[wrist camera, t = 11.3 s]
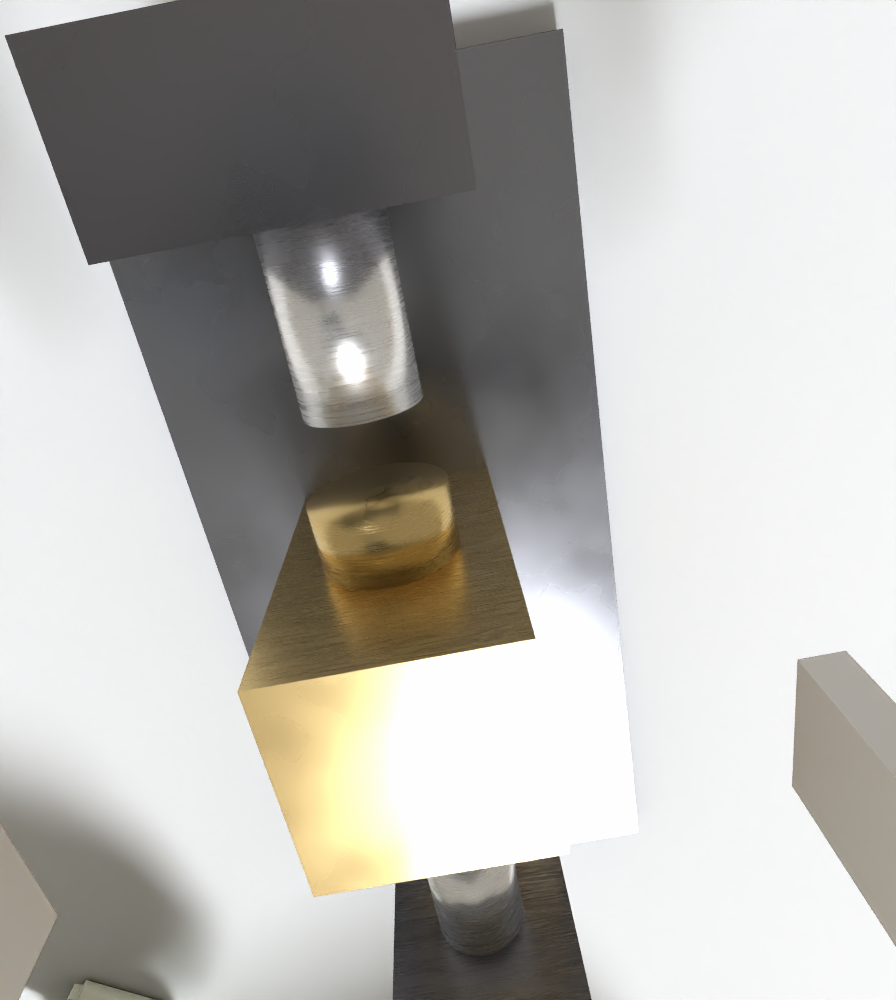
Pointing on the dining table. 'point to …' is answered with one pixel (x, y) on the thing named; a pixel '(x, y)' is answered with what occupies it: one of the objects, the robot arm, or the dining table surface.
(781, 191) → the dining table surface
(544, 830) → the gold metallic block
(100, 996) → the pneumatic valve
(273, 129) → the base
